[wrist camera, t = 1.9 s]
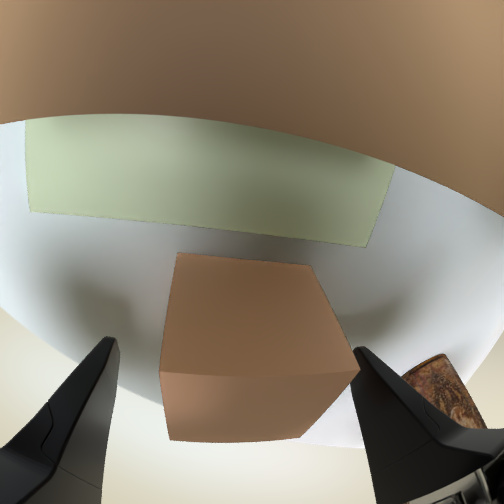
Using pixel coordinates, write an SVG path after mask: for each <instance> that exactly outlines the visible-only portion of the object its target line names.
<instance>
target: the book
mask: <svg viewBox="0 0 504 504" xmlns="http://www.w3.org/2000/svg"><path fill="white" fill-rule="evenodd" d="M401 378H402V379H404V380H405V381H406V382H407V383H408V384H409V385H411V386H412V387H413V388H414V389H415V390H416V391H418V392H419V393H420V394H421V395H422V396H423V397H425V398H426V399H427V400H428V401H429V402H430V403H432V404H433V405H434V406H435V407H436V408H438V409H439V410H440V411H442V412H443V413H444V414H446V415H447V416H449V417H450V418H451V419H453V420H454V421H456V422H457V423H458V424H460V425H462V426H464V427H467V428H478V429H488V428H487V426H486V425H485V422H484V420H483V419H482V417H481V415H480V413H479V411H478V409H477V407H476V405H475V403H474V402H473V400H472V398H471V396H470V394H469V393H468V391H467V389H466V388H465V386H464V384H463V382H462V381H461V379H460V377H459V376H458V374H457V372H456V371H455V369H454V367H453V366H452V364H451V363H450V361H449V359H448V358H447V356H446V355H445V354H440V355H437V356H434V357H432V358H430V359H428V360H426V361H424V362H423V363H421V364H419V365H417V366H416V367H414V368H413V369H411V370H410V371H408V372H407V373H405V374H404V375H403V376H402V377H401ZM404 504H409V502H407V503H404Z"/></svg>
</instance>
